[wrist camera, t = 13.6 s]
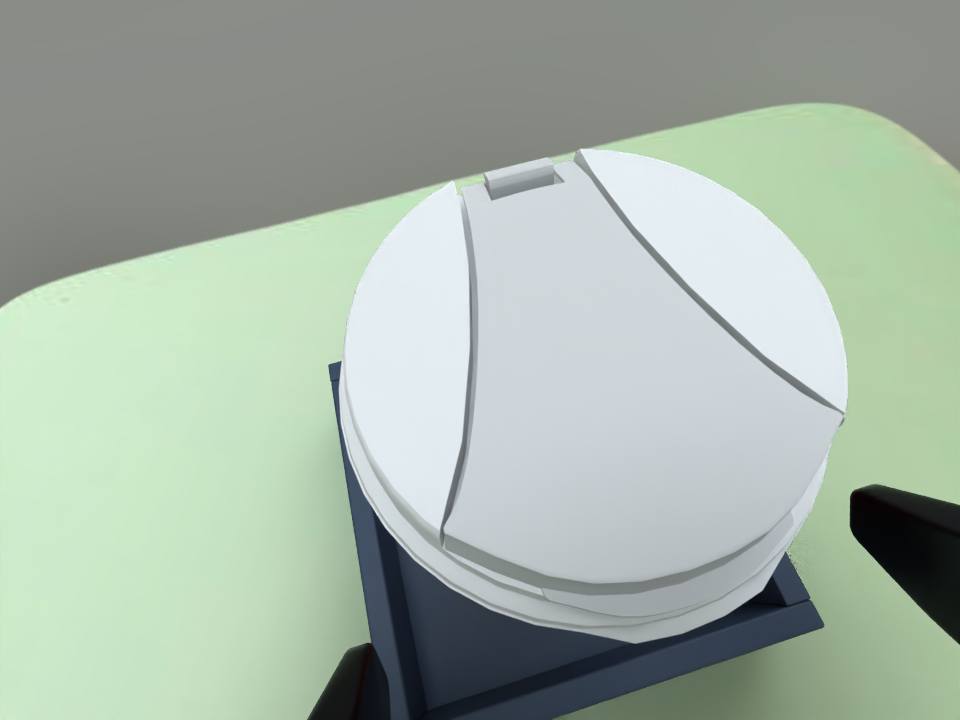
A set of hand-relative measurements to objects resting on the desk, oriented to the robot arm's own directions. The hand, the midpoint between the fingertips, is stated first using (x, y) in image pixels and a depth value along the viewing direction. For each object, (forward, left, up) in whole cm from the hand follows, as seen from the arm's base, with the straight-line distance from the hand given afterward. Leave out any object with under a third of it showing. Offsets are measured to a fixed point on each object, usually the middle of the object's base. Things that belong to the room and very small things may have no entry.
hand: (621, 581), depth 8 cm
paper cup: (+3, +1, -10) cm, 11 cm away
